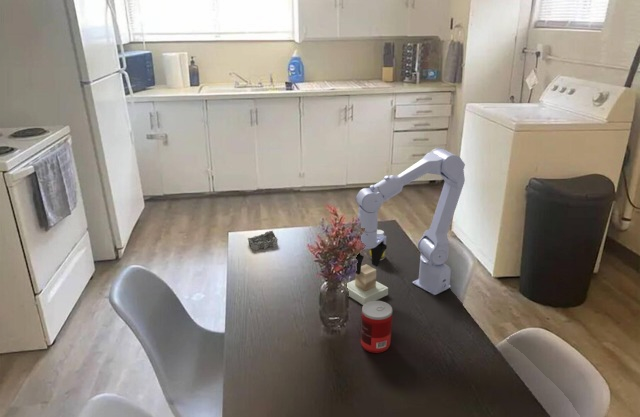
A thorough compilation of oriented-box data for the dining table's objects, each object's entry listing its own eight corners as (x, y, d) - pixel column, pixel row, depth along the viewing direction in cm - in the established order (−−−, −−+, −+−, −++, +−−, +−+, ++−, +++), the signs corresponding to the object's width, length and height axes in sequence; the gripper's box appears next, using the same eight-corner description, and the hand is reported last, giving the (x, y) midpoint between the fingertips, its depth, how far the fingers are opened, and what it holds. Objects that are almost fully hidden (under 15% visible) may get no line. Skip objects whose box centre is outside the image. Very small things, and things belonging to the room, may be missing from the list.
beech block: (375, 286, 146) (376, 269, 144) (364, 291, 144) (365, 274, 142) (365, 280, 150) (366, 264, 147) (355, 285, 147) (355, 268, 145)
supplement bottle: (366, 256, 171) (367, 230, 168) (379, 252, 174) (380, 227, 170) (375, 262, 167) (376, 236, 163) (387, 259, 169) (389, 233, 165)
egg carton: (274, 239, 185) (273, 229, 184) (279, 247, 179) (278, 237, 177) (247, 243, 182) (246, 233, 180) (251, 251, 175) (250, 241, 174)
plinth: (387, 294, 147) (388, 287, 146) (364, 305, 141) (364, 298, 140) (365, 281, 154) (366, 274, 153) (342, 291, 149) (342, 284, 148)
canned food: (394, 340, 126) (397, 305, 122) (382, 357, 120) (384, 321, 115) (368, 331, 130) (370, 297, 126) (355, 347, 123) (356, 312, 119)
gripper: (375, 218, 147) (374, 257, 152) (340, 230, 138) (339, 271, 143) (392, 225, 142) (390, 265, 147) (356, 238, 133) (355, 280, 138)
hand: (366, 269), depth 145 cm, fingers open, 7 cm apart
